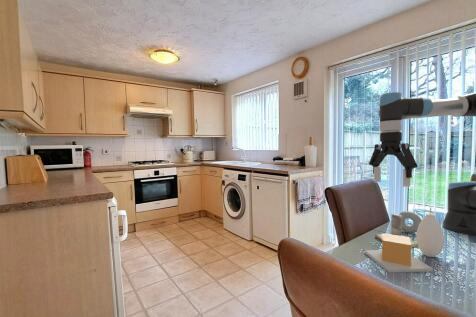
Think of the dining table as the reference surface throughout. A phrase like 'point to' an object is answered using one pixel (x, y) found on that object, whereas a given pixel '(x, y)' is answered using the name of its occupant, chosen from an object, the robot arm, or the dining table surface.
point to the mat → (394, 267)
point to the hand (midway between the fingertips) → (391, 183)
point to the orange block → (396, 249)
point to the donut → (414, 218)
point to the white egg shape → (430, 236)
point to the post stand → (396, 228)
